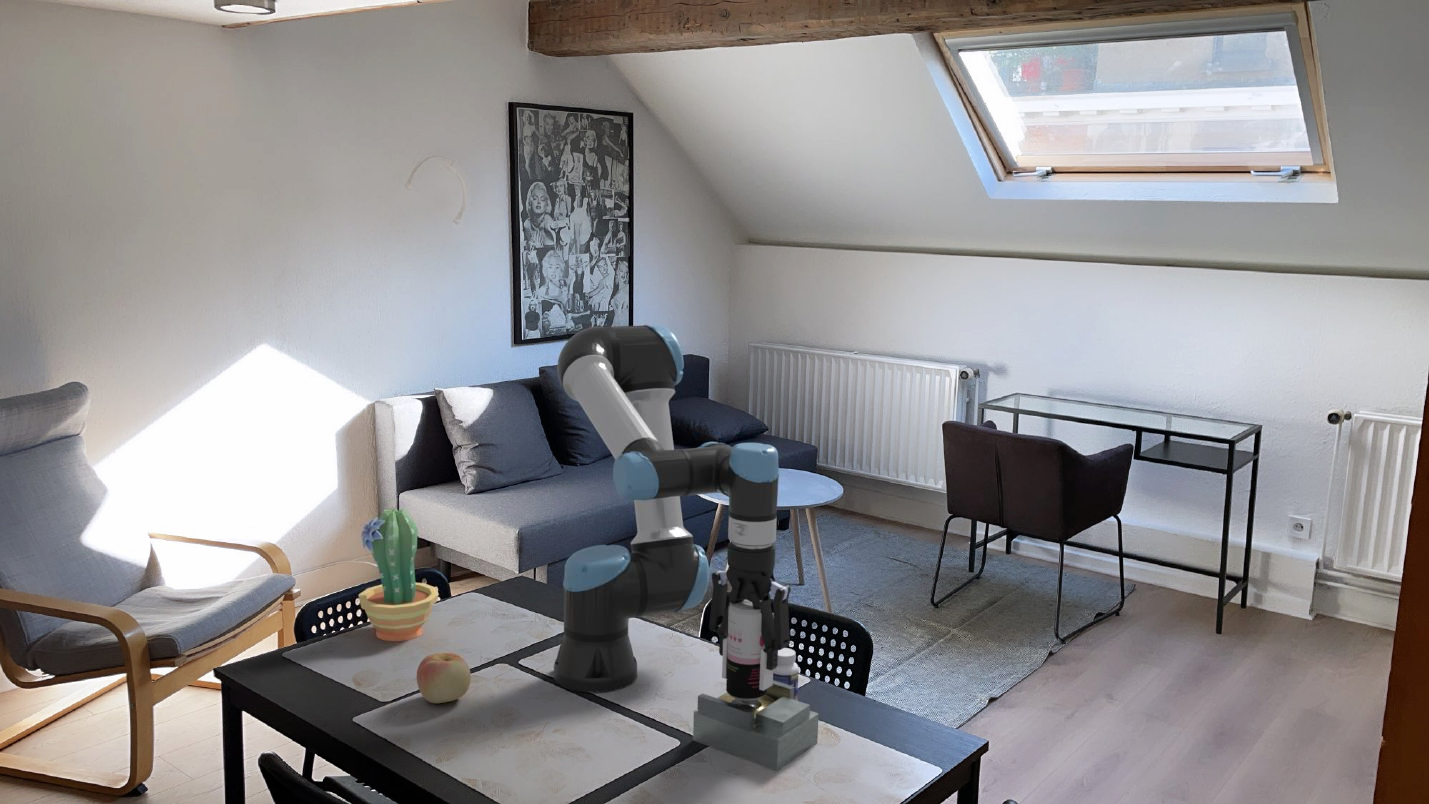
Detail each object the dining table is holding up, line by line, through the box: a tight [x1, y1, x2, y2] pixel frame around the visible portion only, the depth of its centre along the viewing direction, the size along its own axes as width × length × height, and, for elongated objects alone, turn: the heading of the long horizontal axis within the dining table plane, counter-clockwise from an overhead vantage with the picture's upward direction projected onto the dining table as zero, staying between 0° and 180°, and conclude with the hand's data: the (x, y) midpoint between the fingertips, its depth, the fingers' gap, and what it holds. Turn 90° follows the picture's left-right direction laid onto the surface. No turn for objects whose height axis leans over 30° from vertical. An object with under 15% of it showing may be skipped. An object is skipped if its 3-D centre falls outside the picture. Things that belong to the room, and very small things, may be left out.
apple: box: [416, 652, 472, 704], centre depth 188 cm, size 9×9×8 cm
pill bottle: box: [773, 647, 800, 701], centre depth 192 cm, size 5×5×9 cm
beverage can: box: [725, 599, 767, 701], centre depth 176 cm, size 7×6×15 cm
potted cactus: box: [358, 507, 440, 642], centre depth 217 cm, size 15×15×25 cm
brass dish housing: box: [692, 680, 819, 772], centre depth 176 cm, size 16×13×8 cm
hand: (747, 681), depth 177 cm, fingers closed on beverage can, 6 cm apart
